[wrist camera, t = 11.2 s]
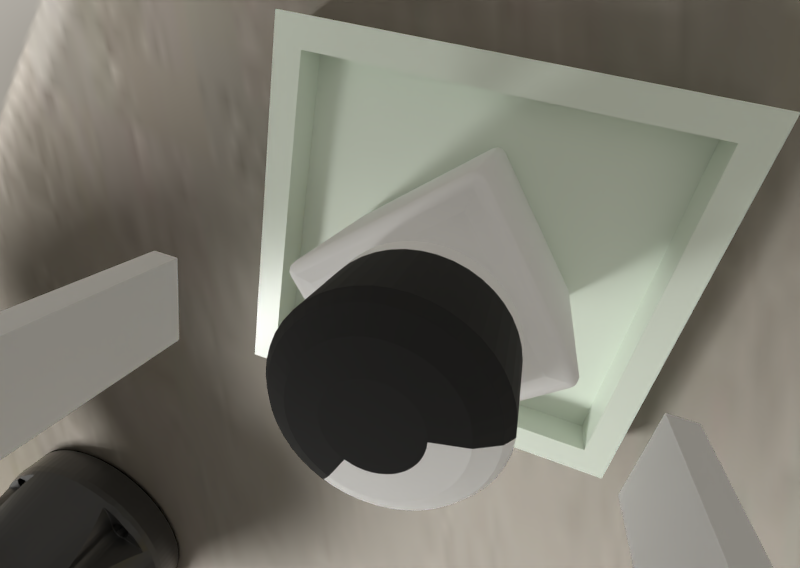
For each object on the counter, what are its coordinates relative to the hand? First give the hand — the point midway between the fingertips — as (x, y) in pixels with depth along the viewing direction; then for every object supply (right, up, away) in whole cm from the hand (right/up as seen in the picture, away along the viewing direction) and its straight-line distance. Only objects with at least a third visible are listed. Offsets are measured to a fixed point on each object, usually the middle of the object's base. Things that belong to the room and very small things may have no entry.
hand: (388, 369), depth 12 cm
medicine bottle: (+3, +4, +9) cm, 10 cm away
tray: (+3, +4, +9) cm, 10 cm away
